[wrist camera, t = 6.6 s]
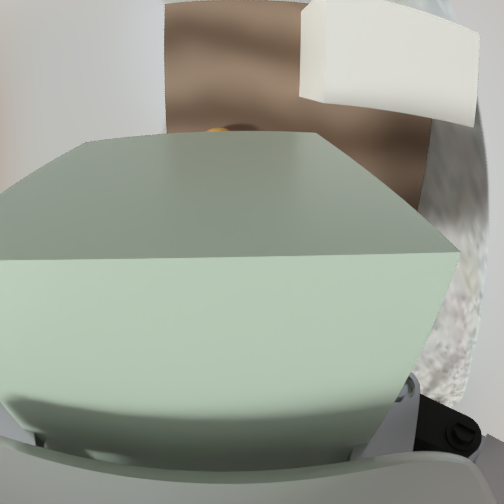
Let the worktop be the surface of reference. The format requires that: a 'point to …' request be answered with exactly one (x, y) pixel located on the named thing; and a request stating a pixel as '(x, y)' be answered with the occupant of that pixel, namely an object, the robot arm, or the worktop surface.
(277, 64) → the walnut board
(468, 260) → the worktop surface
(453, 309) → the worktop surface
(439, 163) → the worktop surface
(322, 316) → the pale green block
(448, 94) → the white block
